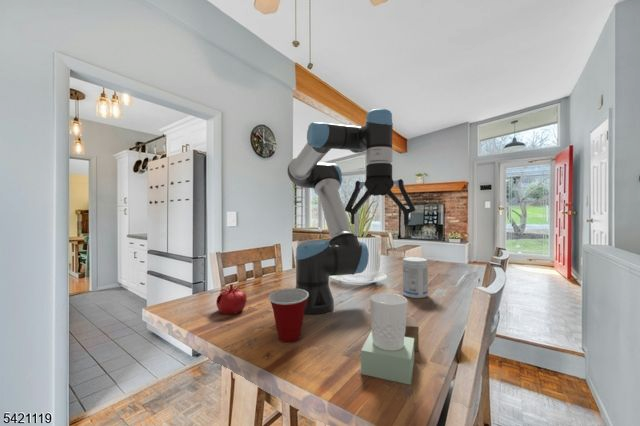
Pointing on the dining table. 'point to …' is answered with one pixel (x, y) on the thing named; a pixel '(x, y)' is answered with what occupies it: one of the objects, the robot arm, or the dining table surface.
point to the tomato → (231, 300)
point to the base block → (388, 361)
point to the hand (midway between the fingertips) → (379, 236)
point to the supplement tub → (415, 277)
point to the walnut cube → (412, 331)
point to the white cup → (388, 320)
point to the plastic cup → (289, 312)
